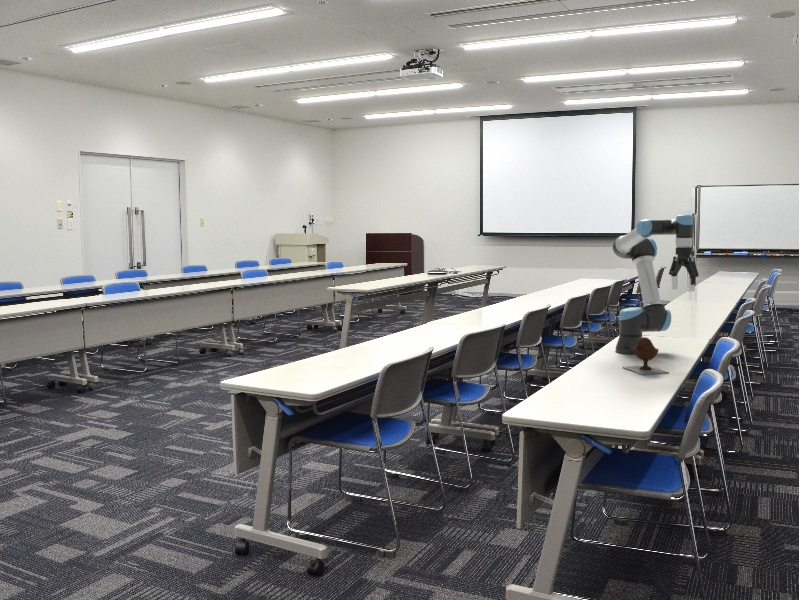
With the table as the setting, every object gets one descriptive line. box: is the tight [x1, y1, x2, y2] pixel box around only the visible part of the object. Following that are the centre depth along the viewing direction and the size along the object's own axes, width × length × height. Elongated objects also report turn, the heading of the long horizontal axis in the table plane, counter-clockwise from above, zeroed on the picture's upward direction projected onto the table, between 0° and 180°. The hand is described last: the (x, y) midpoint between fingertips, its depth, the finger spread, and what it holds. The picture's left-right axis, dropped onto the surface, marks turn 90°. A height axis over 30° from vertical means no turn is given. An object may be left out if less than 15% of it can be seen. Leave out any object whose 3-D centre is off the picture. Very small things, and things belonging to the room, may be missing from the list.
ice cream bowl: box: [633, 336, 659, 370], centre depth 328 cm, size 11×11×15 cm
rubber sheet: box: [622, 364, 670, 376], centre depth 328 cm, size 17×13×1 cm
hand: (683, 290), depth 348 cm, fingers open, 13 cm apart
